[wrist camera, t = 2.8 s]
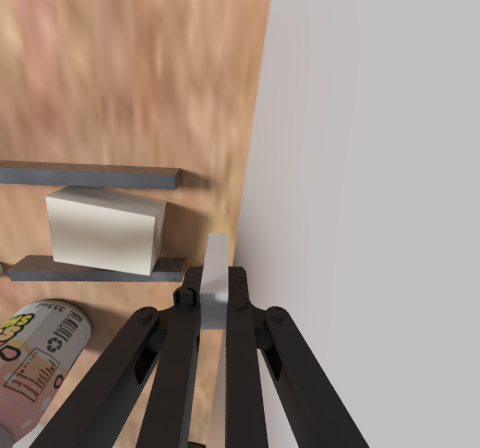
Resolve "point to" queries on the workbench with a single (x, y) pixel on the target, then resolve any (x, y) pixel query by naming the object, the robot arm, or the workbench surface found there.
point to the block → (105, 228)
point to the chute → (96, 177)
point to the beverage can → (36, 362)
